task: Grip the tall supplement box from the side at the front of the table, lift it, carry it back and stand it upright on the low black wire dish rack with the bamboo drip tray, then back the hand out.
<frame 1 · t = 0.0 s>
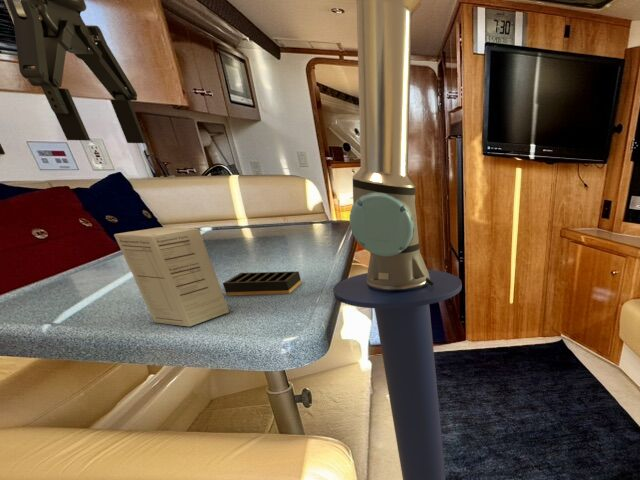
hand: (110, 142, 67), 31 cm above the table, tool pointing down, fingers open, 13 cm apart
supplement box: (193, 318, 81), on the table
dish rack: (266, 288, 99), on the table
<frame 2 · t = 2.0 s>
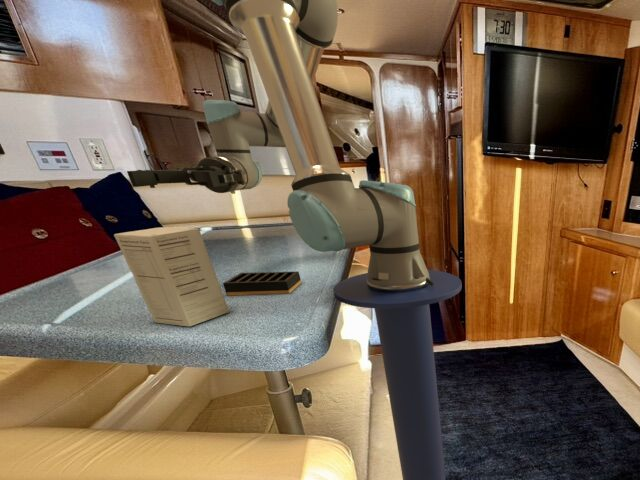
hand: (170, 179, 77), 25 cm above the table, tool horizontal, fingers open, 13 cm apart
nothing on the table moved.
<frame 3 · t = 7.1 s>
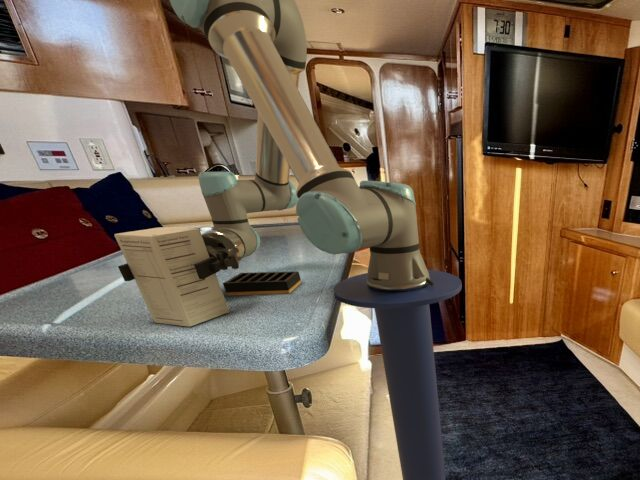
hand: (161, 272, 73), 10 cm above the table, tool horizontal, fingers closed on supplement box, 12 cm apart
supplement box: (193, 318, 81), on the table, touching gripper
when the fingers open (13 cm above the table, at t = 16.8 s): supplement box stays where it is, resting on dish rack.
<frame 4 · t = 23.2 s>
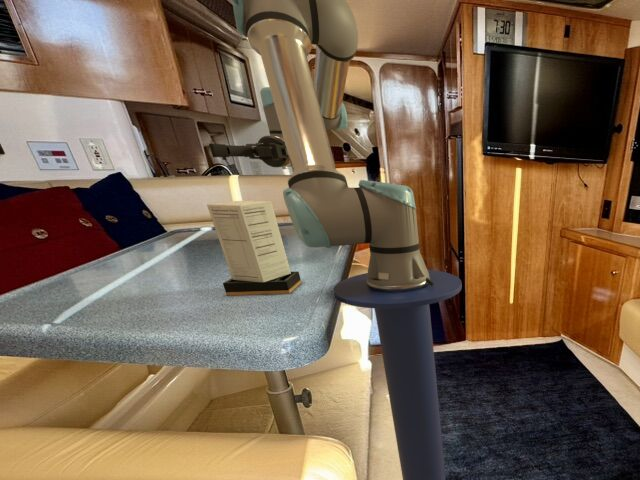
hand: (244, 150, 93), 30 cm above the table, tool horizontal, fingers open, 13 cm apart
supplement box: (262, 277, 98), point 3 cm above the table, touching dish rack
at the end: supplement box inside the target area on the dish rack (0.0 cm from its centre), point 2.8 cm above the dish rack's base; supplement box tilted 0°; the gripper is holding nothing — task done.
